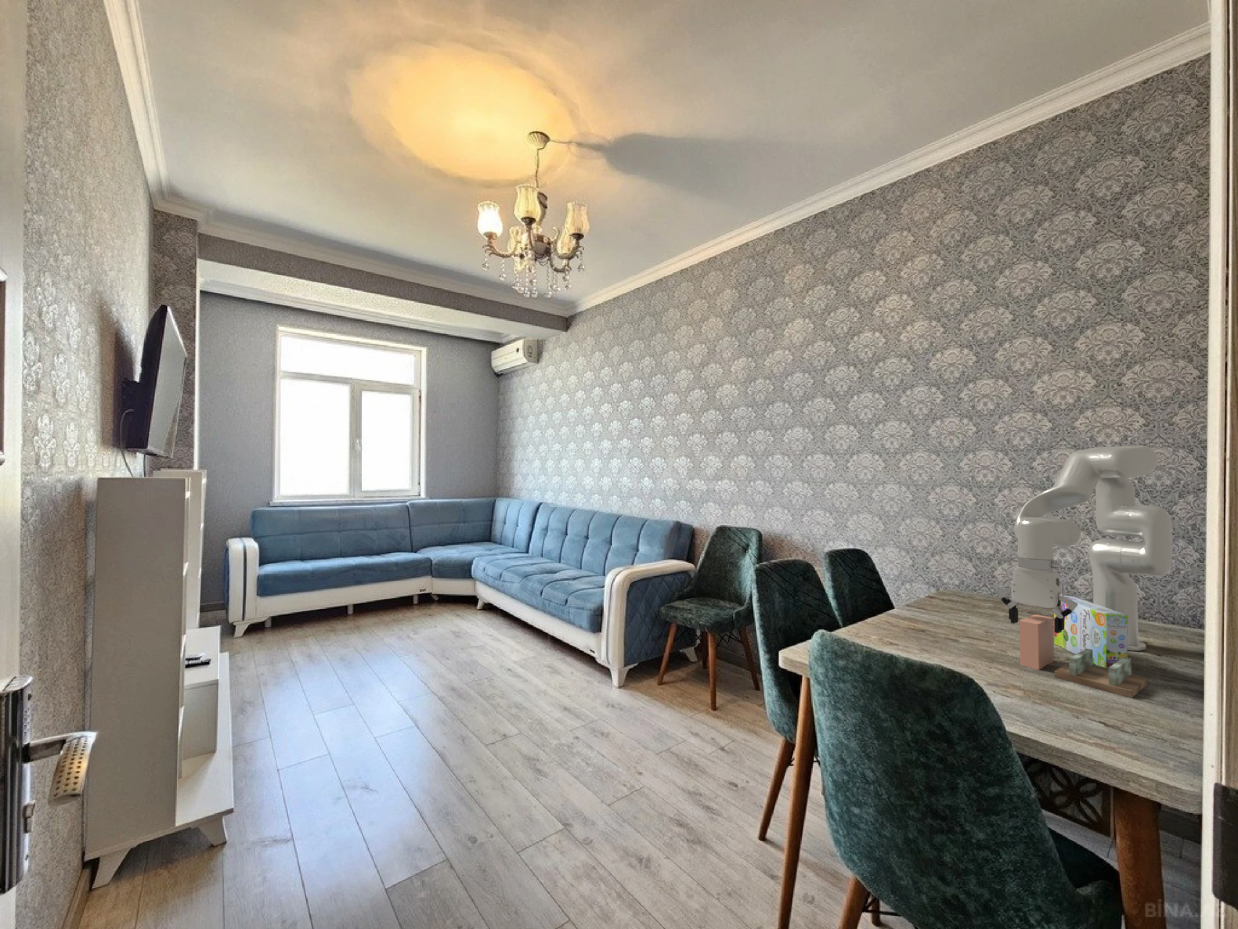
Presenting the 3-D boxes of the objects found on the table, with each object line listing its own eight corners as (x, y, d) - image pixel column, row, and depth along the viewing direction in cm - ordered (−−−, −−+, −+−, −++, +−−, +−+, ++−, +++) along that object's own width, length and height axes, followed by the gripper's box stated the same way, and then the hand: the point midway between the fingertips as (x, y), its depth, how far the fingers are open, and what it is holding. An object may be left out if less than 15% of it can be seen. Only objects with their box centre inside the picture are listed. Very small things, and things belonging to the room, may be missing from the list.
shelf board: (1073, 665, 134) (1073, 645, 134) (1148, 684, 122) (1147, 661, 122) (1054, 677, 126) (1054, 655, 126) (1131, 697, 114) (1131, 673, 115)
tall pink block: (1035, 657, 140) (1035, 614, 141) (1054, 661, 137) (1053, 617, 137) (1020, 665, 134) (1019, 620, 135) (1038, 670, 131) (1037, 624, 131)
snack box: (1130, 672, 129) (1129, 614, 130) (1105, 670, 130) (1104, 613, 131) (1073, 645, 150) (1072, 595, 150) (1052, 643, 151) (1051, 594, 152)
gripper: (1081, 568, 131) (1082, 633, 130) (1003, 558, 145) (1003, 617, 145) (1071, 571, 127) (1072, 638, 126) (992, 560, 141) (992, 621, 141)
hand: (1035, 627), depth 136 cm, fingers open, 9 cm apart
